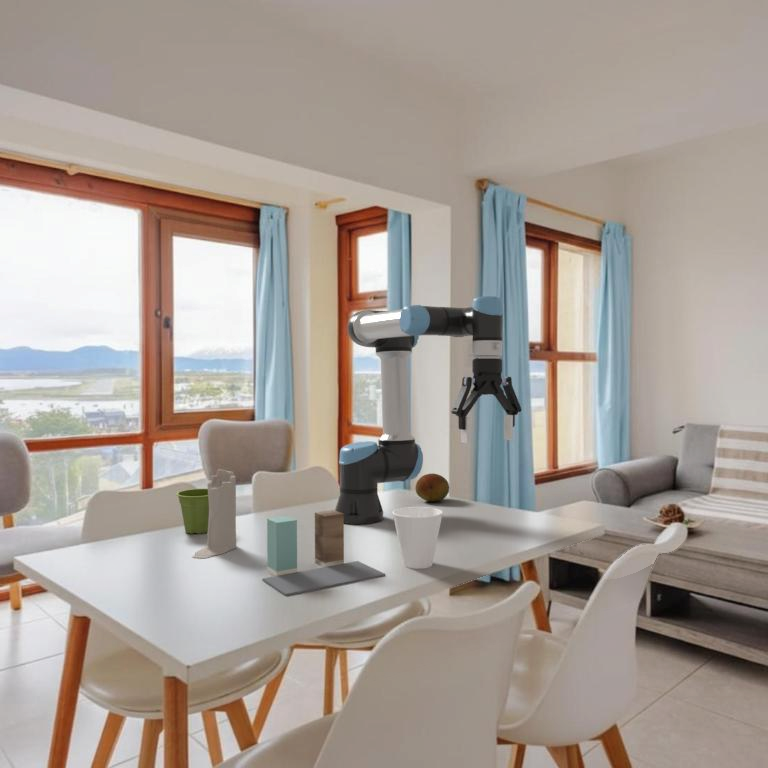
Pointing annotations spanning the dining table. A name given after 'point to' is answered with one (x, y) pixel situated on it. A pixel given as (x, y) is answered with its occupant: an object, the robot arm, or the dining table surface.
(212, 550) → the grey boot
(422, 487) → the fruit
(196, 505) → the plant pot
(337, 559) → the walnut pillar
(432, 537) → the cup
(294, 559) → the teal pillar
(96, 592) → the dining table surface
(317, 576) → the slate mat
